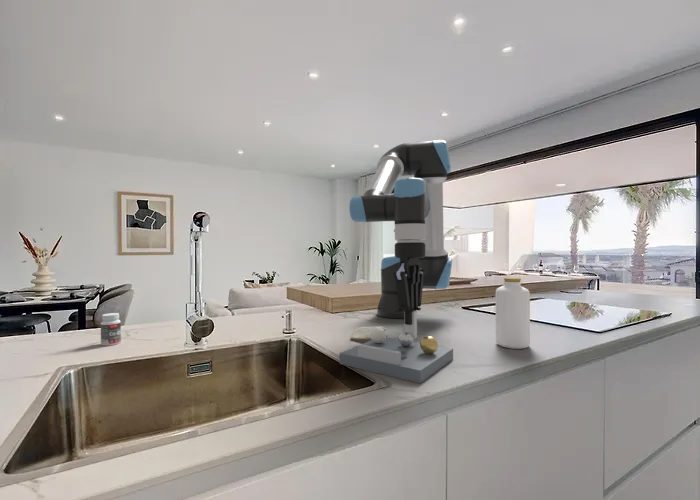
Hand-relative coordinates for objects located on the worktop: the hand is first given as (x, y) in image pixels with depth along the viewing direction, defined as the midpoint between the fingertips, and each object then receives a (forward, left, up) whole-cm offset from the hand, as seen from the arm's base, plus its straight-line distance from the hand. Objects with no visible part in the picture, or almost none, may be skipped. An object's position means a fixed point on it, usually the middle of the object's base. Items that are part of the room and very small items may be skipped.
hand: (410, 336), depth 88 cm
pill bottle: (+39, -74, -5) cm, 84 cm away
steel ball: (+2, 0, 0) cm, 2 cm away
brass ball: (+5, +7, 0) cm, 8 cm away
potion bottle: (-22, +19, -5) cm, 30 cm away
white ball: (+4, -7, 0) cm, 8 cm away
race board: (+7, 0, -4) cm, 8 cm away
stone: (-9, -17, -5) cm, 19 cm away
